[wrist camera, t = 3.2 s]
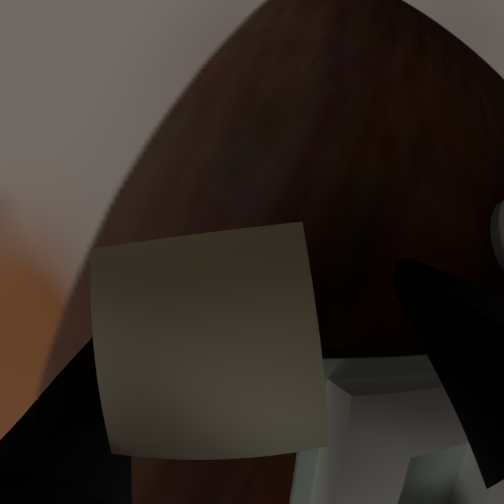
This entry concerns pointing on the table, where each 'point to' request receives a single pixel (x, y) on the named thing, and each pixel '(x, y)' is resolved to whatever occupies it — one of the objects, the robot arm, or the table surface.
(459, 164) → the table surface
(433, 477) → the socket block
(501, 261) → the travel mug
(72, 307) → the table surface
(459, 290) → the robot arm
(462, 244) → the table surface
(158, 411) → the birch peg
